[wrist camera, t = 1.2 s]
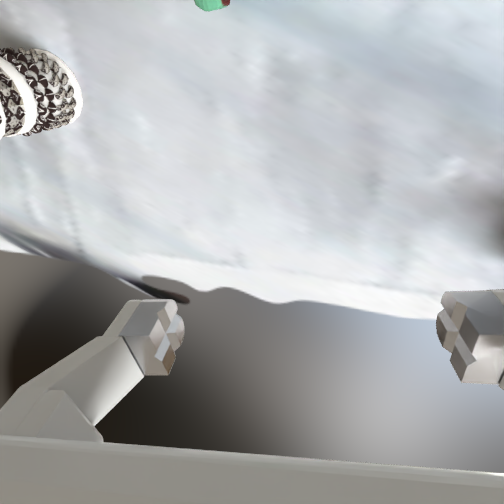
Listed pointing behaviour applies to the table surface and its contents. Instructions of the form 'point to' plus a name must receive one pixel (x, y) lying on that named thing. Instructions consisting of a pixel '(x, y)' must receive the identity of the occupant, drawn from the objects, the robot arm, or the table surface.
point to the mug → (211, 4)
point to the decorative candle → (36, 92)
